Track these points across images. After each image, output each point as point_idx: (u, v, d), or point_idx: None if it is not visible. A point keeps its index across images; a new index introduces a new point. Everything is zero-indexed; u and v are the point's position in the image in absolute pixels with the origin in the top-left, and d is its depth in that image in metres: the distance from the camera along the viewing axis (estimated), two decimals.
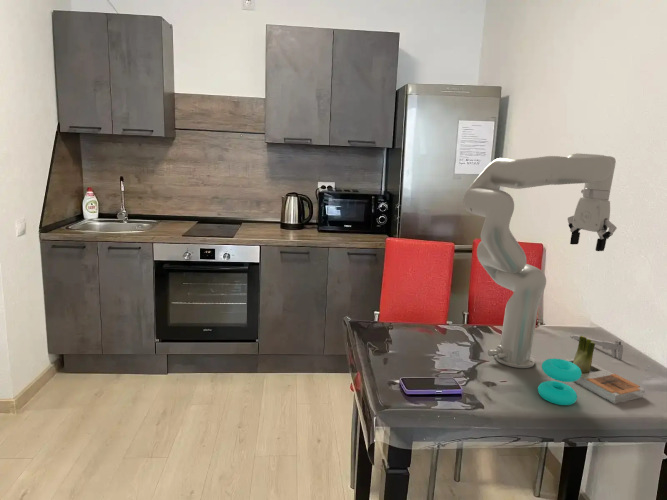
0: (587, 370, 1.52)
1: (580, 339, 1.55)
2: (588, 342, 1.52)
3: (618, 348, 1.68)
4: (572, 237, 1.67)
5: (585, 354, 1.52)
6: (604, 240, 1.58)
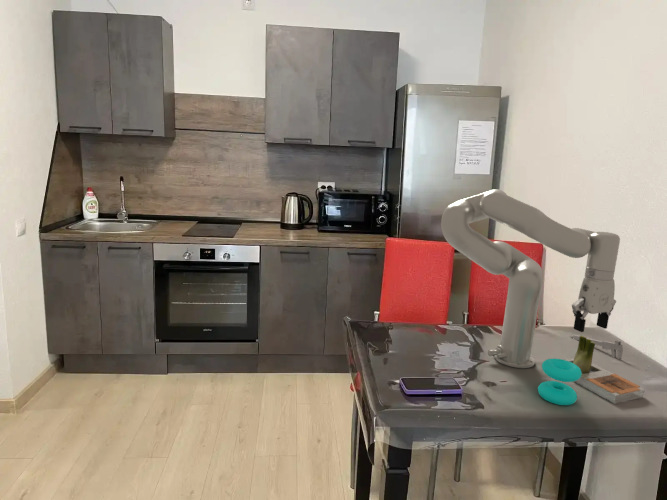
0: (587, 370, 1.52)
1: (580, 339, 1.55)
2: (588, 342, 1.52)
3: (618, 348, 1.68)
4: (584, 324, 1.48)
5: (585, 354, 1.52)
6: None
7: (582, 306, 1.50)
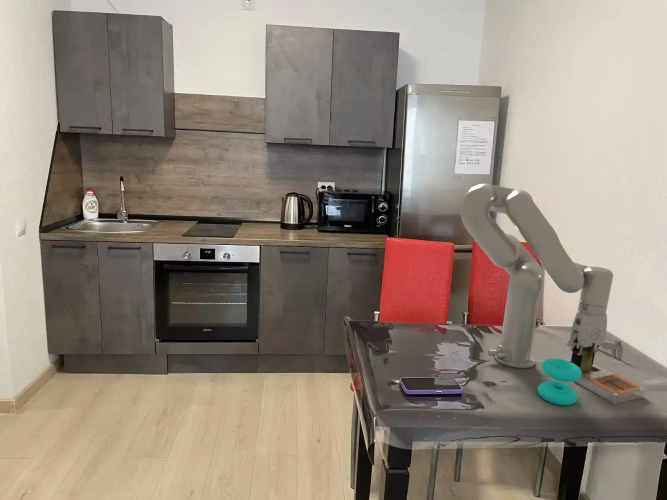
0: (587, 370, 1.52)
1: None
2: None
3: (618, 348, 1.68)
4: (581, 360, 1.52)
5: (585, 354, 1.52)
6: None
7: None
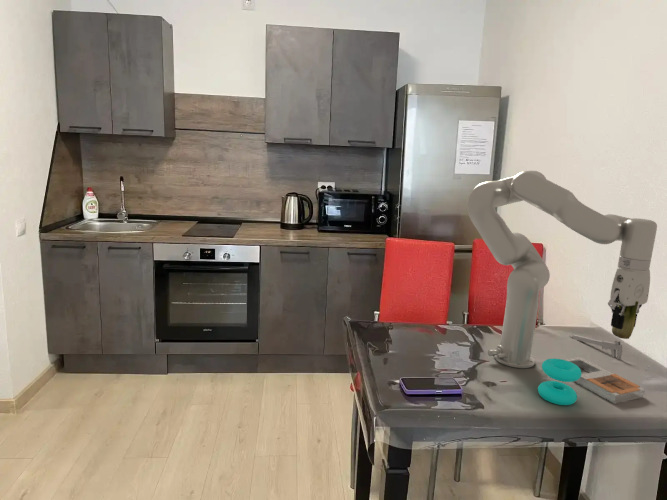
0: (630, 332, 1.39)
1: None
2: None
3: (617, 348, 1.68)
4: (623, 321, 1.39)
5: (627, 314, 1.40)
6: None
7: None
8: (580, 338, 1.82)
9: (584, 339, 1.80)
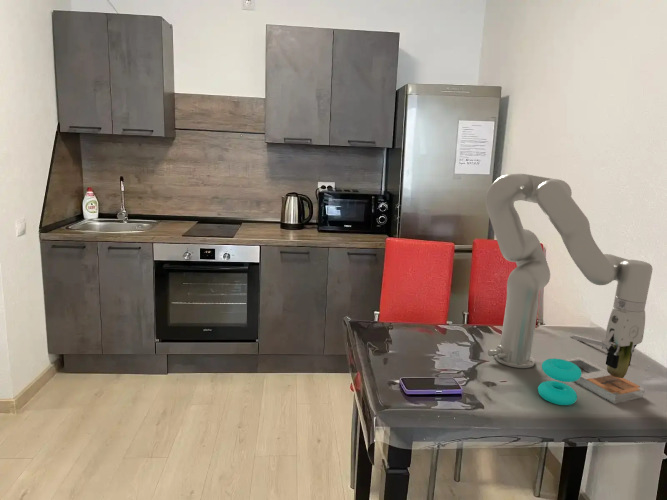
0: (624, 371, 1.41)
1: None
2: None
3: None
4: (617, 360, 1.41)
5: (622, 354, 1.41)
6: None
7: None
8: (580, 338, 1.82)
9: (584, 339, 1.80)
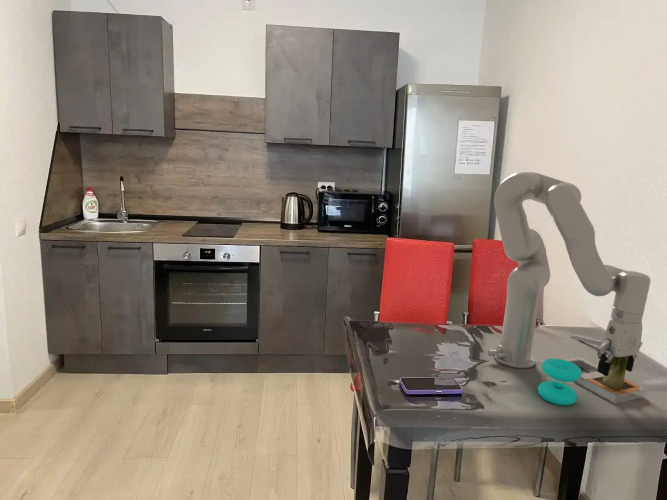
0: (619, 386, 1.42)
1: None
2: None
3: None
4: None
5: (617, 369, 1.43)
6: None
7: (607, 348, 1.42)
8: (580, 338, 1.82)
9: (584, 339, 1.80)
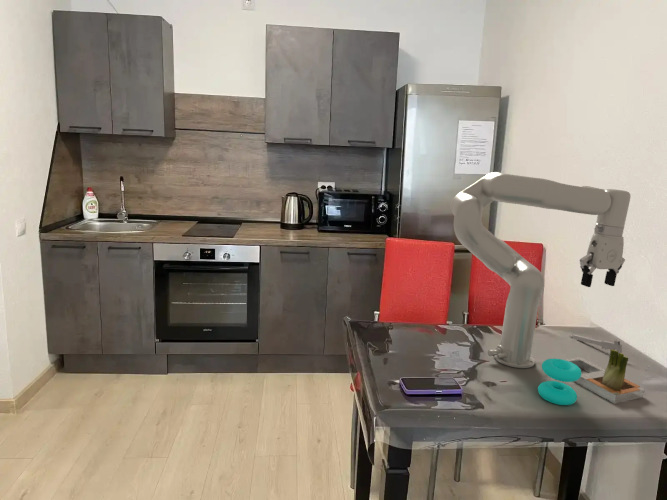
0: (619, 386, 1.42)
1: (611, 353, 1.45)
2: (620, 356, 1.42)
3: (617, 348, 1.68)
4: (591, 279, 1.51)
5: (617, 369, 1.43)
6: None
7: (590, 262, 1.53)
8: (580, 338, 1.82)
9: (584, 339, 1.80)
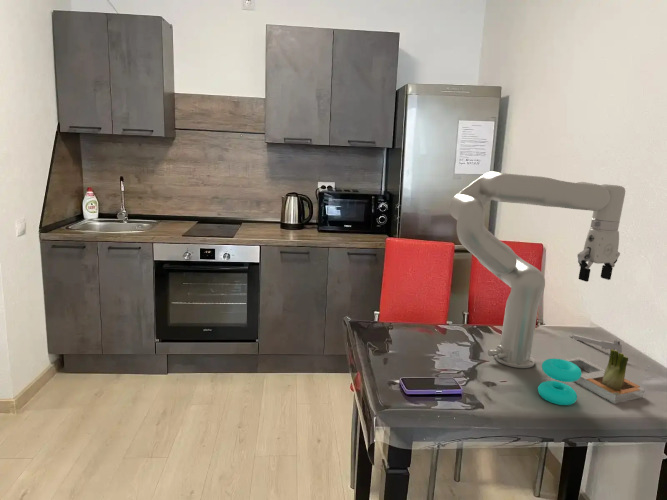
0: (619, 386, 1.42)
1: (611, 353, 1.45)
2: (620, 356, 1.42)
3: (617, 348, 1.68)
4: (589, 274, 1.53)
5: (617, 369, 1.43)
6: None
7: (587, 257, 1.55)
8: (580, 338, 1.82)
9: (584, 339, 1.80)
